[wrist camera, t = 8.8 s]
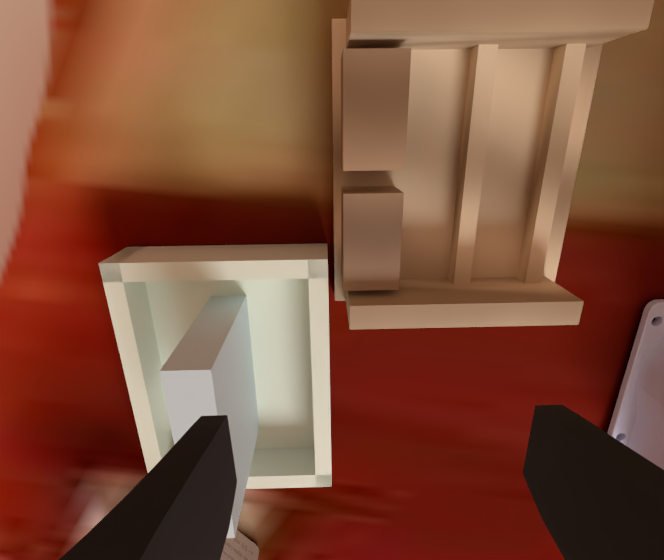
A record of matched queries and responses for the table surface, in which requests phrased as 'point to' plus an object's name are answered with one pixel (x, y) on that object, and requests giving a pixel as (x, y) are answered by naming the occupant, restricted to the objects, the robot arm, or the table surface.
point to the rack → (480, 153)
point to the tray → (266, 341)
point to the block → (216, 382)
